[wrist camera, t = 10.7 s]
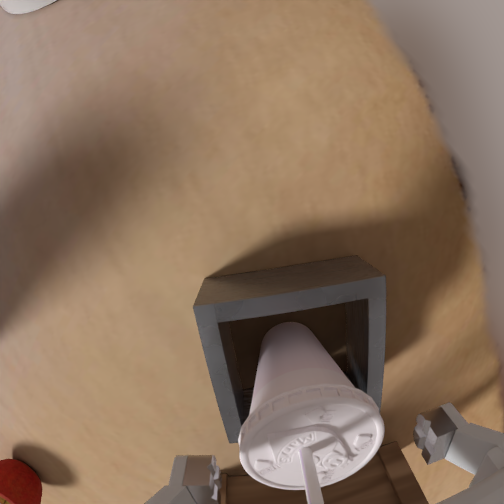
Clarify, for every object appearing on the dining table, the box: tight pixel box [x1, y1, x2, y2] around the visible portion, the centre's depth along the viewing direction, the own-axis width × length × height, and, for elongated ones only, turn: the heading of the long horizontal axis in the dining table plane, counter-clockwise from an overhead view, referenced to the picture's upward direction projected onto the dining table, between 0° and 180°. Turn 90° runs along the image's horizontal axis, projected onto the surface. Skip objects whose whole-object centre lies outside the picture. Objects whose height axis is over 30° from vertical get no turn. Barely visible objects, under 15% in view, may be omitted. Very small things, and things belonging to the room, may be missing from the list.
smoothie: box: [238, 322, 385, 504], centre depth 14 cm, size 6×6×14 cm
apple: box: [0, 459, 42, 504], centre depth 21 cm, size 8×8×8 cm
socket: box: [193, 255, 386, 443], centre depth 18 cm, size 10×10×4 cm
